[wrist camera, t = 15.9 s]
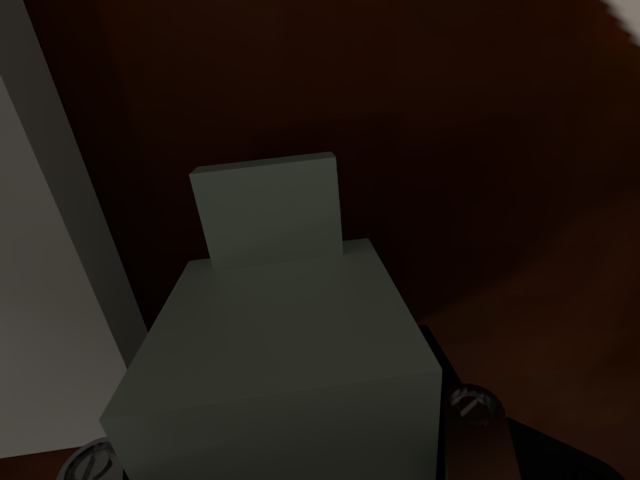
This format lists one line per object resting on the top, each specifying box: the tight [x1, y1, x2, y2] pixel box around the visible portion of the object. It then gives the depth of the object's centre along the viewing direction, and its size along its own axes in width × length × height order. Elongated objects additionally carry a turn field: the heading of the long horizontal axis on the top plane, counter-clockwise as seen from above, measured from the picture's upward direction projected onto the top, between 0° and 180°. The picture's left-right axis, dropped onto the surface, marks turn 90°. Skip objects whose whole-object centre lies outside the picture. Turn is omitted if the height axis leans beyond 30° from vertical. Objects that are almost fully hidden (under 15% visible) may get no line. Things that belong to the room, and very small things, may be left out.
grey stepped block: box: [99, 151, 442, 480], centre depth 9 cm, size 9×6×6 cm, turn 6°
